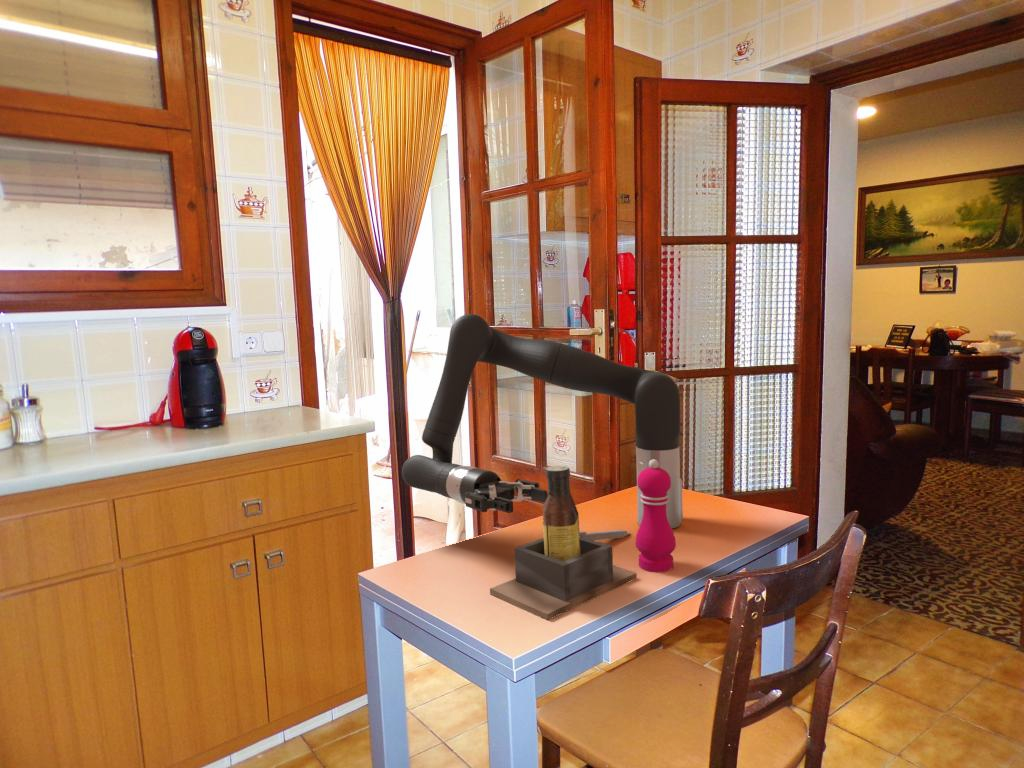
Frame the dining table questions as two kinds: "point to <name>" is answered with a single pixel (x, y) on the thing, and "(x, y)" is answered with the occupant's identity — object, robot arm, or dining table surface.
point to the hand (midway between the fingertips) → (529, 501)
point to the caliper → (604, 534)
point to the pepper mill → (655, 520)
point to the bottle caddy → (560, 578)
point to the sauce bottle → (560, 517)
